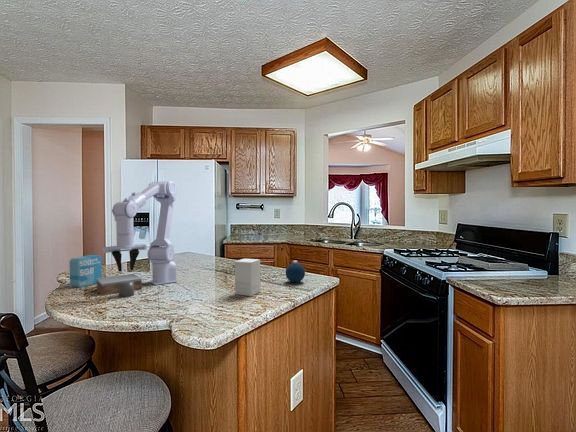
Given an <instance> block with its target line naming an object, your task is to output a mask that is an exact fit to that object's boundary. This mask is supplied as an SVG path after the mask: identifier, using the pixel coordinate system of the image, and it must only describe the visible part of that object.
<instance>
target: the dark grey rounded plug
mask: <svg viewBox="0 0 576 432" xmlns="http://www.w3.org/2000/svg"><path fill="white" fill-rule="evenodd" d="M118 286H119V293H118V297H119V298H129V297H133V296H134V295H135V290H134V281H122V282H119V283H118Z"/></svg>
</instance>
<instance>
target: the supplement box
mask: <svg viewBox="0 0 576 432" xmlns="http://www.w3.org/2000/svg"><path fill="white" fill-rule="evenodd" d="M261 289H262V288H261V259H260V258H259V259H257V258H256V259H255V258H241V259H239V260H235V261H234V290H235V291H234V293H235V295H240V296H248V297H252V296H254V294H255V295H257V294H259V293H261V292H260V291H262V290H261ZM258 292H259V293H258ZM256 293H257V294H256Z"/></svg>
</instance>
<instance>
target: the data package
mask: <svg viewBox="0 0 576 432" xmlns="http://www.w3.org/2000/svg"><path fill="white" fill-rule="evenodd" d="M102 261H103V260H102V256H101V255H98V254H88V255H83V256H76V257H72V258H70V259H69V284H70V286H71V287H72V288H84V287H88V286H91V285H95V284H96V285H97V278H103V274H102V273H103V267H102V266H103V265H102Z"/></svg>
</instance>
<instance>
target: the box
mask: <svg viewBox="0 0 576 432" xmlns="http://www.w3.org/2000/svg"><path fill="white" fill-rule="evenodd" d="M142 285H143V283H142V281H135V282H134V291H139V290H142V289H143V287H142ZM96 290H97V291H98V292H99V293H100V294H101V296H107V295H114V294H119V286H118V284H114V285H107V286H102V285H101V284H100V283H99V282H98V281H97V283H96Z"/></svg>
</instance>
